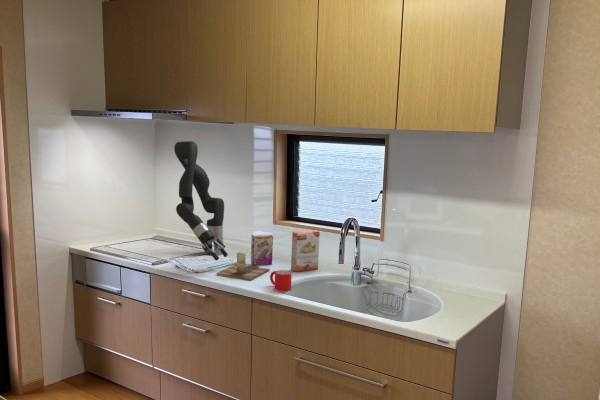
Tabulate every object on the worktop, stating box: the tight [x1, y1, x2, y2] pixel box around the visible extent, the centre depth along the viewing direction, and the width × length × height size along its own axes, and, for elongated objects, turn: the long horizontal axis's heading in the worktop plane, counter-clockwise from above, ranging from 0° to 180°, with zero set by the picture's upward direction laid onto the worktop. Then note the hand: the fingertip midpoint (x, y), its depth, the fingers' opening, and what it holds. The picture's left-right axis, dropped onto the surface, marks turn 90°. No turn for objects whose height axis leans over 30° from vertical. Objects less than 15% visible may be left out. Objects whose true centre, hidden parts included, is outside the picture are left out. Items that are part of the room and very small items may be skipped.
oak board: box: [216, 263, 270, 282], centre depth 275 cm, size 20×20×1 cm
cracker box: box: [290, 229, 321, 273], centre depth 284 cm, size 14×6×21 cm, turn 121°
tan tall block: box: [236, 251, 247, 274], centre depth 270 cm, size 4×4×10 cm
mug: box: [269, 269, 293, 292], centre depth 252 cm, size 8×12×8 cm, turn 54°
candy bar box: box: [250, 233, 274, 266], centre depth 292 cm, size 11×5×16 cm, turn 110°
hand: (222, 257), depth 275 cm, fingers open, 8 cm apart
